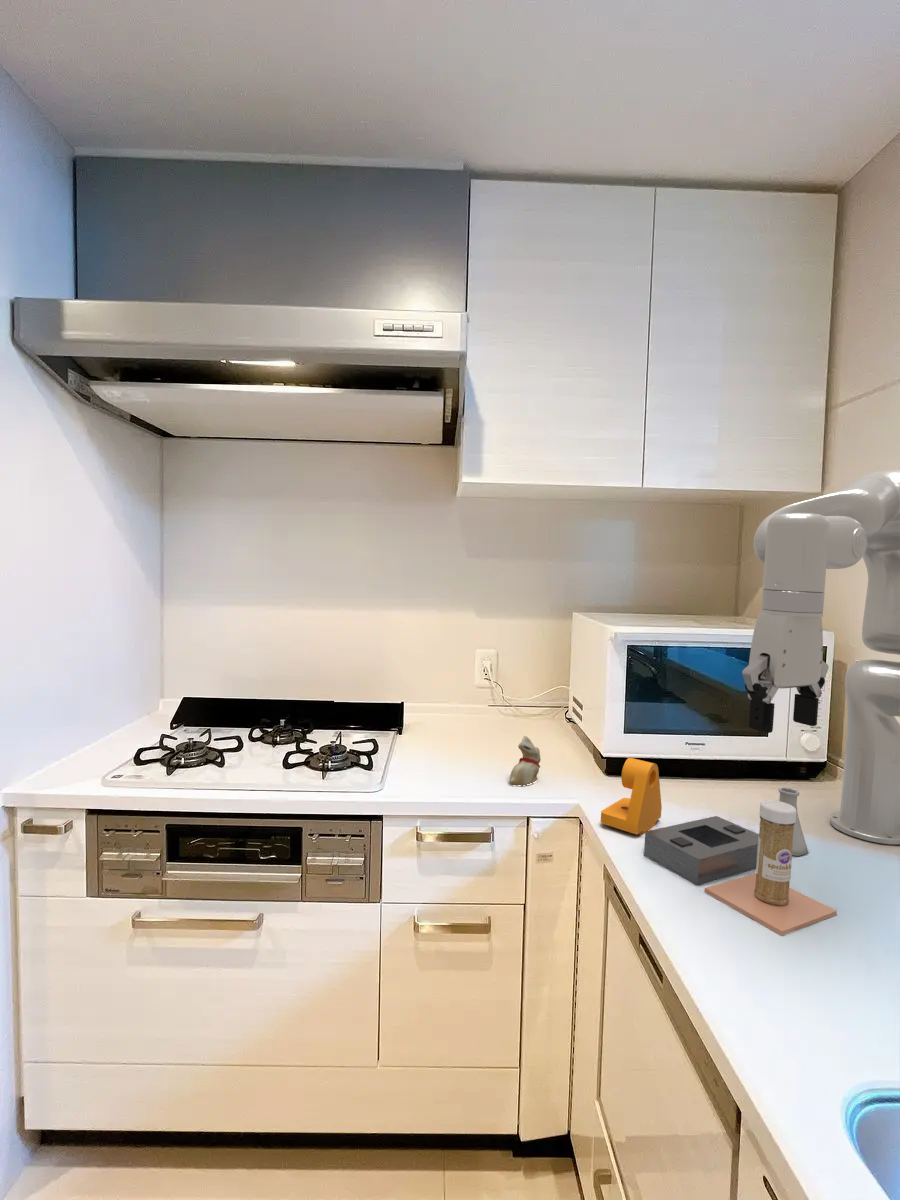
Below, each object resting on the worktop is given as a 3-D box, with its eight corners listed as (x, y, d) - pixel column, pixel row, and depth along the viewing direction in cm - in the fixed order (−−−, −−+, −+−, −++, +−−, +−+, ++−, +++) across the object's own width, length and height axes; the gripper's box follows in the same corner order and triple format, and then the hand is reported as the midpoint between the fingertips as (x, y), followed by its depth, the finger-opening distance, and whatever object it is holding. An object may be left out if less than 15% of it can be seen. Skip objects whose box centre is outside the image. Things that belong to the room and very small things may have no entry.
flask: (766, 834, 115) (770, 779, 115) (812, 847, 111) (816, 790, 110) (756, 847, 109) (760, 789, 109) (803, 861, 105) (808, 801, 104)
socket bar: (714, 838, 112) (716, 814, 112) (770, 864, 103) (772, 838, 103) (643, 855, 104) (645, 830, 104) (697, 885, 95) (699, 858, 95)
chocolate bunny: (546, 785, 136) (549, 738, 135) (512, 787, 134) (514, 739, 133) (535, 776, 141) (538, 731, 141) (502, 778, 139) (504, 732, 138)
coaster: (758, 875, 99) (758, 872, 99) (836, 915, 88) (836, 910, 88) (704, 892, 93) (704, 887, 93) (781, 935, 83) (782, 931, 83)
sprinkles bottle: (773, 909, 88) (780, 812, 87) (746, 892, 92) (752, 800, 91) (797, 903, 90) (804, 808, 89) (769, 887, 94) (775, 797, 93)
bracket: (623, 810, 123) (627, 749, 123) (660, 821, 119) (664, 757, 118) (598, 826, 115) (602, 760, 114) (637, 839, 111) (641, 770, 110)
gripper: (804, 602, 96) (795, 715, 97) (726, 602, 87) (718, 726, 89) (856, 606, 89) (846, 728, 90) (777, 606, 81) (768, 740, 82)
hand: (783, 727), depth 89 cm, fingers open, 9 cm apart
